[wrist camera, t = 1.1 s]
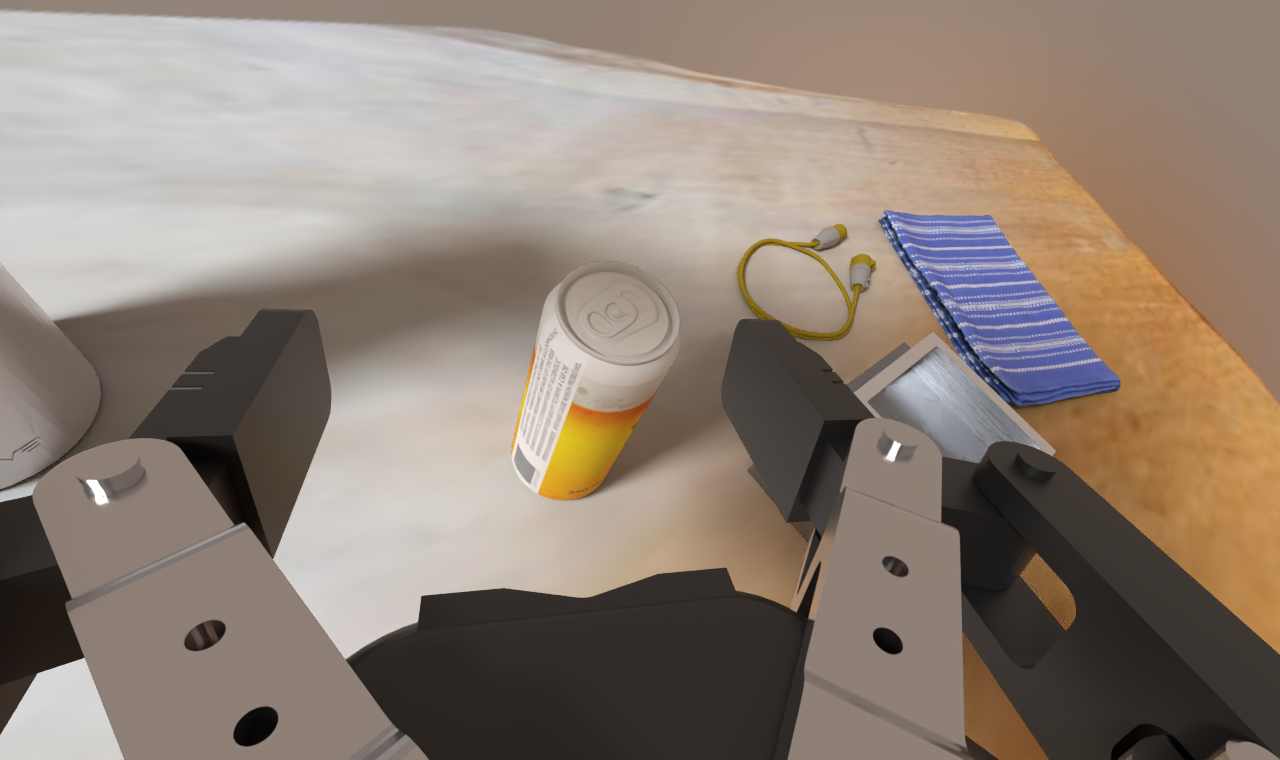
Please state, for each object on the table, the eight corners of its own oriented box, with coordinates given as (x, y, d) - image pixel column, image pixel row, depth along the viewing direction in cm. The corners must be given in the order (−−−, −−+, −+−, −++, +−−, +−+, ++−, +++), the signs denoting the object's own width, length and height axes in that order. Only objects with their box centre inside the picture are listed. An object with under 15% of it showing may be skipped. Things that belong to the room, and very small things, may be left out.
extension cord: (904, 330, 53) (919, 317, 51) (767, 354, 46) (779, 340, 44) (839, 233, 58) (851, 219, 56) (707, 242, 51) (716, 226, 50)
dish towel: (991, 418, 50) (1018, 403, 47) (868, 221, 60) (885, 201, 58) (1112, 398, 56) (1140, 383, 54) (981, 223, 67) (1000, 205, 65)
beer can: (626, 464, 37) (716, 324, 25) (555, 525, 33) (620, 398, 21) (562, 399, 38) (619, 235, 26) (489, 451, 35) (514, 291, 22)
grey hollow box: (747, 470, 39) (831, 392, 31) (837, 400, 45) (930, 319, 36) (908, 663, 35) (1057, 636, 27) (985, 559, 41) (1127, 510, 32)
